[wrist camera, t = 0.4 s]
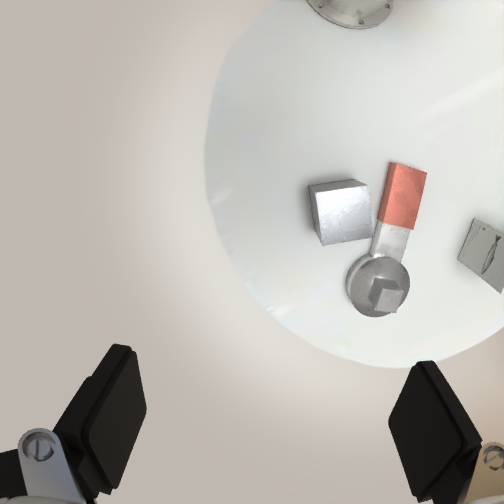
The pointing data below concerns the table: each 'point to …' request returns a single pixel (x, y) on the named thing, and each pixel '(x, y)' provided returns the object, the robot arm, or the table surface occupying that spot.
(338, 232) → the brushed grey cube
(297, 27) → the table surface
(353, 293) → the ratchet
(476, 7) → the table surface
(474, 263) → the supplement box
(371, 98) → the table surface
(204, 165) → the table surface
